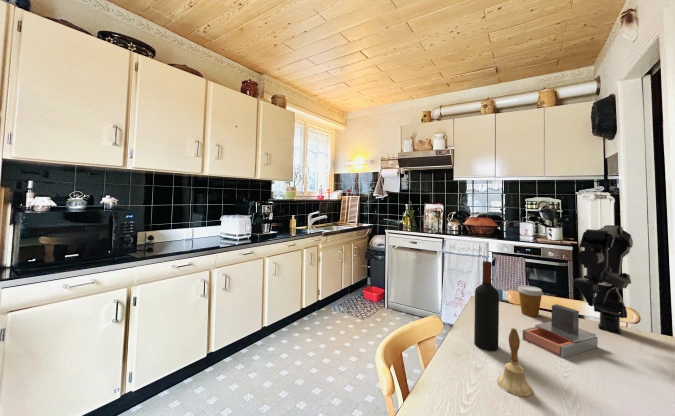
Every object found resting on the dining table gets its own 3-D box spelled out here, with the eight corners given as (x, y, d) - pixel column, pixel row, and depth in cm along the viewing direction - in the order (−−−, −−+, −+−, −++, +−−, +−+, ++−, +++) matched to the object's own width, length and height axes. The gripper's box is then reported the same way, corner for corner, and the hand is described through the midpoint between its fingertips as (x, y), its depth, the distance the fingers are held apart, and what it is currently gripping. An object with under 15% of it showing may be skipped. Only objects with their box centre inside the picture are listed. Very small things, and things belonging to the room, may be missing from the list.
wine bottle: (475, 348, 94) (476, 263, 94) (473, 338, 101) (474, 259, 101) (500, 353, 91) (501, 265, 91) (496, 342, 98) (497, 260, 98)
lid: (556, 321, 107) (556, 300, 107) (596, 336, 96) (596, 312, 96) (535, 326, 103) (535, 304, 103) (574, 342, 91) (574, 317, 91)
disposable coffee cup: (548, 318, 119) (548, 291, 119) (526, 318, 119) (526, 291, 119) (532, 310, 129) (533, 285, 129) (512, 309, 129) (513, 285, 129)
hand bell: (519, 400, 69) (520, 339, 69) (490, 381, 77) (490, 325, 77) (539, 391, 73) (540, 332, 72) (509, 373, 80) (510, 320, 80)
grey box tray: (555, 330, 108) (555, 321, 108) (597, 347, 95) (597, 337, 95) (522, 339, 101) (522, 329, 101) (562, 358, 89) (563, 347, 89)
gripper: (610, 270, 90) (609, 316, 90) (640, 266, 96) (639, 309, 97) (571, 263, 100) (571, 305, 100) (601, 260, 107) (600, 299, 107)
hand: (596, 304), depth 101 cm, fingers open, 6 cm apart
